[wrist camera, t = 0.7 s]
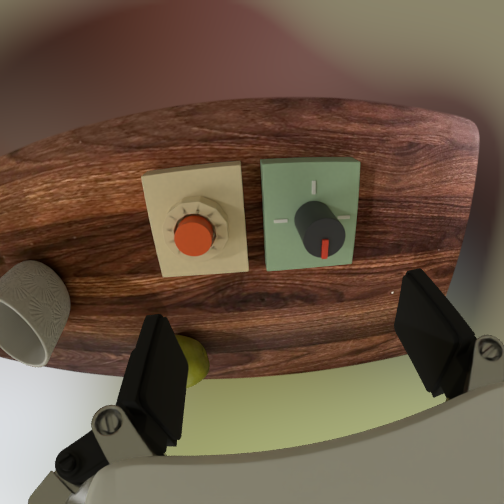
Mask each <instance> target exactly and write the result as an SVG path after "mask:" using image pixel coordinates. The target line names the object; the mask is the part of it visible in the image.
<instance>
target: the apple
mask: <svg viewBox="0 0 504 504" xmlns="http://www.w3.org/2000/svg"><path fill="white" fill-rule="evenodd" d="M175 336H176V338H177V341H178V343H179V345H180V347H181V349H182V351H183V353H184V355H185V357H186V359H187V361H188V366H189V370H188V378H187V387H186V388H189V387H192V386H194V385H196V384H197V383H198V382H200V381H201V380H202V379H204V378H205V376H206V375H207V374H208V372H209V367H210V364H209V360H208V356H207V353H206V350H205V348H204V347H203V346H202V344H201V343H200V342H198V341H197V340H195V339H193V338H190V337H186V336H181V335H175Z"/></svg>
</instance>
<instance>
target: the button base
mask: <svg viewBox="0 0 504 504" xmlns="http://www.w3.org/2000/svg"><path fill="white" fill-rule="evenodd" d="M141 178H142V184H143V189H144V195H145V200H146V205H147V210H148V215H149V220H150V224H151V229H152V234H153V238H154V242H155V247H156V251H157V255H158V259H159V263H160V267H161V271H162V275H163V277H174V276H189V275H204V274H218V273H232V272H245V271H249V265H248V252H247V239H246V226H245V213H244V200H243V187H242V173H241V161H230V162H219V163H209V164H199V165H191V166H182V167H174V168H167V169H160V170H153V171H147V172H146V173H145V174H144V175H142V176H141ZM194 215H195V216H201V217H203V218H205V219H206V220H207V221H208V222H209V223H210V224H211V226H212V228H213V238H212V244H211V247H210V249H209V250H208V251H207V252H206V253H205V254H203V255H200V256H188V255H185V254H183V253H182V252H181V251H180V250H179V249H178V248H177V246H176V244H175V241H174V236H175V232H176V230H177V228H178V225H179V223H180V222H181V221H182V220H183V219H184V218H186V217H188V216H194Z"/></svg>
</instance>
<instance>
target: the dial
mask: <svg viewBox="0 0 504 504" xmlns="http://www.w3.org/2000/svg"><path fill="white" fill-rule="evenodd" d="M294 223H295V226H296V229H297V231H298V233H299V235H300V238H301V240H302V242H303V245H304V247H305V249H306V250H307V252H308V253H309V254H311V255H312V256H315V257H318V258H321V259H327V258H328V257H329V256H332V255H334V254H335V253H337V252H338V251H339V250H340V249H341V248H342V246H343V244H344V242H345V237H346V233H345V229H344V227H343V225H342V224H341V223H340V221H339V220H338V219H337V218H336V216H335V215H334V214H333V213H332V211H331V210H330V209H329V208H328V206H327V205H325V204H324V203H322V202H319V201H309V202H307V203H305V204H303V205H302V206H300V207H299V209H298V210H297V212H296V214H295V217H294Z"/></svg>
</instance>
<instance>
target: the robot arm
mask: <svg viewBox="0 0 504 504" xmlns="http://www.w3.org/2000/svg"><path fill="white" fill-rule="evenodd" d="M394 328H395V332H396V334H397V336H398V337H399V339H400V341H401V343H402V344H403V346H404V348H405V350H406V352H407V354H408V355H409V357H410V359H411V361H412V363H413V365H414V367H415V369H416V370H417V372H418V374H419V376H420V378H421V380H422V382H423V384H424V386H425V388H426V390H427V391H428V392H431V393H432V395H433V397H436V396H439V395H441V394H443V393H444V394H445V396H446V402H444V403H442V404H439V405H437V406H435V407H432V408H430V409H427V410H425V411H422V412H420V413H417V414H414V415H412V416H409V417H406V418H404V419H401V420H398V421H395V422H393V423H389V424H386V425H383V426H380V427H377V428H373V429H370V430H367V431H364V432H360V433H357V434H352V435H349V436H345V437H341V438H337V439H332V440H328V441H323V442H318V443H313V444H308V445H303V446H298V447H292V448H284V449H278V450H270V451H262V452H253V453H241V454H227V455H204V456H167V455H166V454H165V452H166V448H167V446H176V445H177V440H179V439H180V438H181V433H182V423H183V413H184V403H185V395H186V387H187V378H188V370H189V366H188V361H187V359H186V357H185V355H184V353H183V351H182V349H181V347H180V345H179V343H178V341H177V338H176V336H175V334H174V332H173V330H172V328H171V325H170V323H169V321H168V319H167V318H166V317H163V316H162V315H161V314H155V315H147V316H146V318H145V320H144V323H143V326H142V329H141V332H140V335H139V338H138V341H137V344H136V348H135V349H134V350H133V351H132V353H131V355H130V358H129V362H128V365H127V368H126V371H125V375H124V378H123V381H122V385H121V388H120V392H119V395H118V399H117V403H116V405H108V406H104V407H102V408H100V409H99V410H98V411H97V412H96V413H95V415H94V416H93V419H92V423H91V427H92V430H91V431H90V432H89V433H87V434H86V435H84V436H83V437H81V438H80V439H78V440H77V441H75V442H74V443H73V444H71V445H70V446H68V447H67V448H65V449H64V450H62V451H61V452H60V453H59V454H58V456H57V458H56V461H55V468H56V471H55V472H53V471H51V472H50V473H49V474H48V475H47V476H46V478H45V479H44V480H43V481H42V483H41V484H40V485H39V486H38V487H37V489H36V490H35V491H34V492H33V494H32V495H31V496H30V498H29V500H28V504H504V345H503V343H502V342H501V341H500V340H499V339H498V338H496V337H494V336H492V335H483V336H481V337H479V338H478V339H477V338H476V337H475V336H474V335H475V334H474V332H473V331H472V329H471V328H470V327H469V326H468V324H467V323H466V322H465V320H464V319H463V318H462V317H461V315H460V314H459V313H458V311H457V310H456V309H455V308H454V306H453V305H452V304H451V303H450V302H449V300H448V299H447V298H446V297H445V296H444V294H443V293H442V292H441V291H440V290H439V288H438V287H437V286H436V285H435V284H434V283H433V281H432V280H431V279H430V278H429V277H428V276H427V275H426V274H425V272H424V271H423V270H422V269H420V268H418V269H414V270H410V271H407V273H406V275H405V276H403V279H402V286H401V292H400V297H399V303H398V308H397V313H396V318H395V323H394Z"/></svg>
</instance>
